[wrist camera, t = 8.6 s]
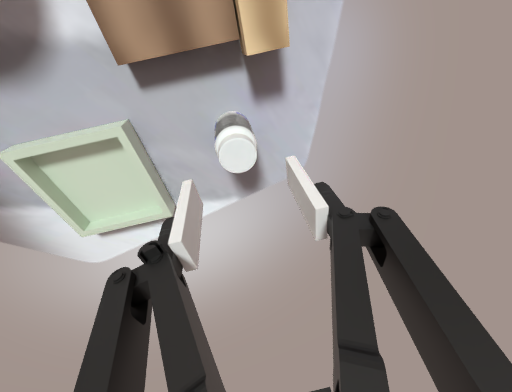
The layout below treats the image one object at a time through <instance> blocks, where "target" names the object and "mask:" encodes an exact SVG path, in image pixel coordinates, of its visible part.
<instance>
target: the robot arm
mask: <svg viewBox="0 0 512 392" xmlns="http://www.w3.org/2000/svg"><path fill="white" fill-rule="evenodd" d="M285 159H286V169H287V179H288V186H289V188H290V190H291V192H292V194H293V196H294V198H295V200H296V202H297V204H298V206H299V208H300V210H301V212H302V214H303V216H304V218H305V220H306V222H307V224H308V226H309V229H310V231H311V233H312V235H313V237H314V239H315V241H317V240H322V239H326V238H327V233H328V234H329V236H330V238H331V239H330V250H331V286H332V287H331V288H332V325H333V359H334V369H333V388H334V392H389V386H388V380H387V374H386V369H385V365H384V361H383V358H382V357H381V355H380V353H379V351H378V345H377V340H376V333H375V327H374V322H373V315H372V308H371V302H370V296H369V290H368V284H367V278H366V271H365V265H364V259H363V253H362V247H361V246H365V247H366V248H367V250H368V252H369V254H370V256H371V258H372V260H373V262H374V264H375V266H376V268H377V270H378V272H379V274H380V276H381V278H382V280H383V282H384V284H385V285H386V288H387V290H388V292H389V294H390V296H391V298H392V300H393V302H394V304H395V306H396V307H397V310H398V312H399V314H400V316H401V318H402V320H403V321H404V324H405V326H406V328H407V330H408V332H409V334H410V335H411V338H412V340H413V341H414V344H415V346H416V347H417V350H418V351H419V354H420V355H421V358H422V359H423V361H424V363H425V365H426V367H427V369H428V371H429V373H430V375H431V377H432V379H433V381H434V383H435V385H436V387H437V389H438V391H439V392H512V364H511V362H510V361H509V360H508V358H507V357H506V356H505V354H504V353H503V352H502V350H501V349H500V348H499V346H498V345H497V344H496V343H495V341H494V340H493V339H492V337H491V336H490V335H489V333H488V332H487V331H486V330H485V328H484V327H483V326H482V324H481V323H480V322H479V320H478V319H477V318H476V316H475V315H474V314H473V313H472V311H471V310H470V308H469V307H468V306H467V305H466V303H465V302H464V301H463V299H462V298H461V297H460V295H459V294H458V293H457V291H456V290H455V289H454V288H453V286H452V285H451V284H450V282H449V281H448V280H447V278H446V277H445V276H444V274H443V273H442V272H441V271H440V269H439V268H438V267H437V265H436V264H435V263H434V261H433V260H432V259H431V257H430V256H429V255H428V254H427V252H426V251H425V250H424V248H423V247H422V246H421V244H420V243H419V242H418V240H417V239H416V238H415V237H414V235H413V234H412V233H411V232H410V230H409V229H408V227H407V226H406V225H405V223H404V222H403V221H402V220H401V218H400V217H399V216H398V214H397V213H396V212H395V211H394V210H392V209H390V208H387V207H376V208H374V209H372V211H371V213H356V212H355V211H353V210H352V209H350V208H348V207H345V206H344V205H343V203H342V202H341V201H340V199H339V198H338V197H337V196H336V194H335V193H334V192H333V191H332V189H331V188H330V186H329V185H327V184H326V183H324V182H320V183H316V184H313V183H312V181H311V179H310V178H309V176H308V175H307V174H306V172H305V171H304V169H303V168H302V166H301V165H300V163H299V162H298V160H297V159H296V157H295V156H290V157H286V158H285ZM202 212H203V203H202V201H201V199H200V196H199V194H198V192H197V189H196V187H195V185H194V182H193V180H192V179H191V180H186V181H183V183H182V187H181V191H180V195H179V200H178V204H177V208H176V212H175V216H174V217H172V218H167V219H166V220H165V222H164V223H163V224H162V227H161V231H160V234H159V235H160V236H159V238H158V241H150V242H148V243H146V244H145V245H143V247H141V248H140V250H139V252H138V257H139V258H140V259H141V261H142V262H143V263H144V264H143V265H141V266H139V267H137V268H135V269H133V270H130V268H128V267H123V268H120V269H118V270H116V271H115V272H114V273H112V274H111V275H110V277H109V278H108V280H107V282H106V285H105V288H104V292H103V295H102V298H101V302H100V305H99V308H98V312H97V315H96V318H95V322H94V325H93V329H92V332H91V335H90V339H89V342H88V345H87V349H86V352H85V355H84V359H83V362H82V365H81V369H80V372H79V375H78V379H77V382H76V385H75V389H74V392H144V388H145V378H146V367H147V356H148V344H149V335H150V323H151V313H152V306H153V311H154V316H155V322H156V328H157V333H158V338H159V344H160V349H161V355H162V360H163V366H164V371H165V376H166V381H167V387H168V392H226V391H225V388H224V386H223V383H222V380H221V377H220V375H219V372H218V369H217V366H216V363H215V361H214V358H213V355H212V352H211V350H210V347H209V344H208V341H207V338H206V336H205V333H204V330H203V328H202V325H201V322H200V319H199V316H198V313H197V311H196V308H195V305H194V302H193V300H192V297H191V294H190V291H189V288H188V286H187V283H186V280H185V277H184V276H183V274H182V269H183V268H184V269H185V271H186V272H187V271H191V270H195V269H198V260H199V248H200V236H201V224H202ZM311 392H331V389H330V387H328V388H324V389H320V390H316V391H311Z"/></svg>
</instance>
